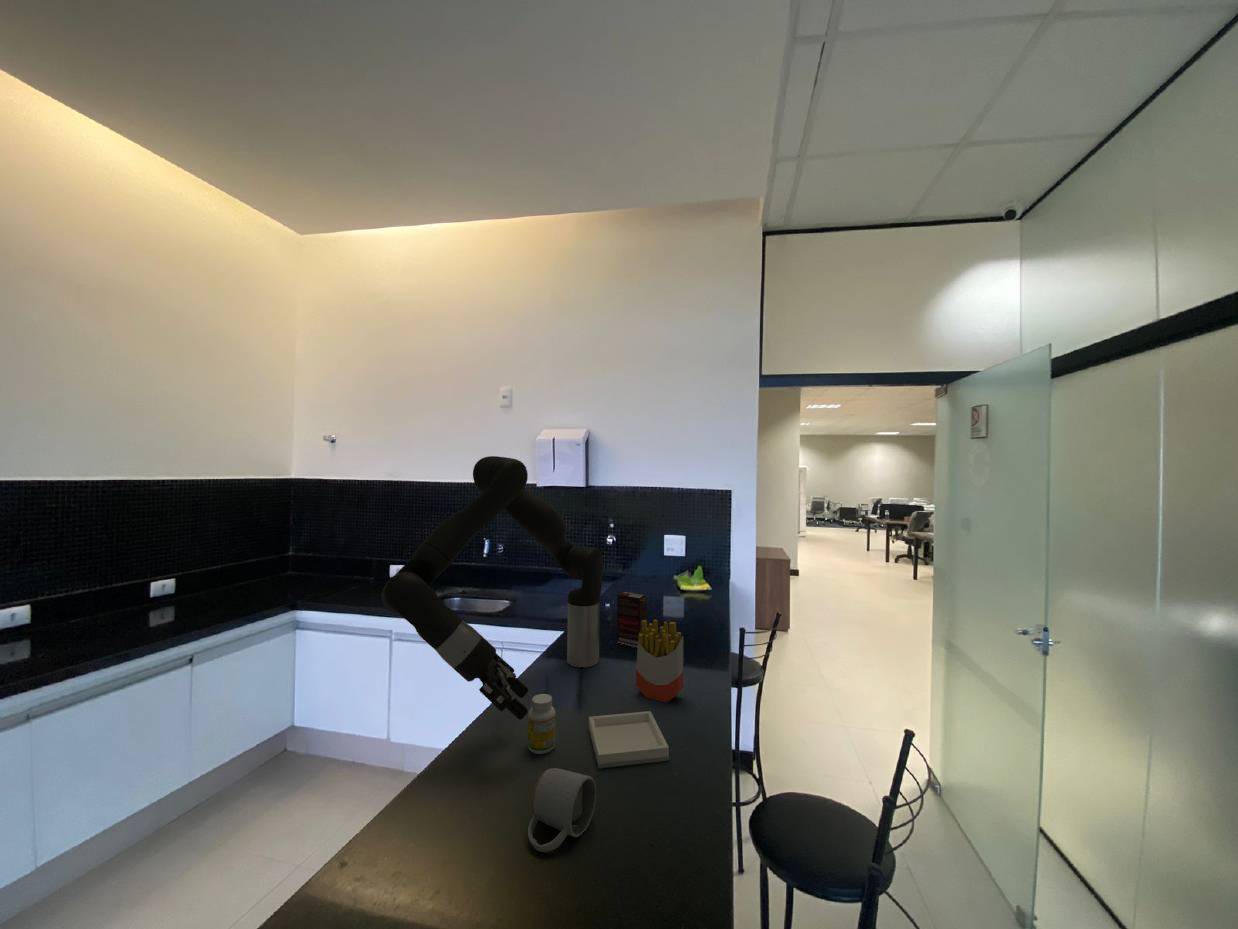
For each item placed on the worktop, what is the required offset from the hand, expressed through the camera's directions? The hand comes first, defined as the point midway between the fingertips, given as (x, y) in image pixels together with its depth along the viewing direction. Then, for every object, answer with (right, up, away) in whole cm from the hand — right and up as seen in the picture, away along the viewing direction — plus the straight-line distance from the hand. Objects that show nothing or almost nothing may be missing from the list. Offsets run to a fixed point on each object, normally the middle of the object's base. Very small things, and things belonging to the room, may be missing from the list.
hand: (525, 704), depth 92 cm
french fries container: (+29, -10, +22) cm, 37 cm away
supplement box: (+23, -10, +56) cm, 61 cm away
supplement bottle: (+3, -9, 0) cm, 10 cm away
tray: (+20, -9, +2) cm, 22 cm away
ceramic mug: (+10, -9, -21) cm, 25 cm away
